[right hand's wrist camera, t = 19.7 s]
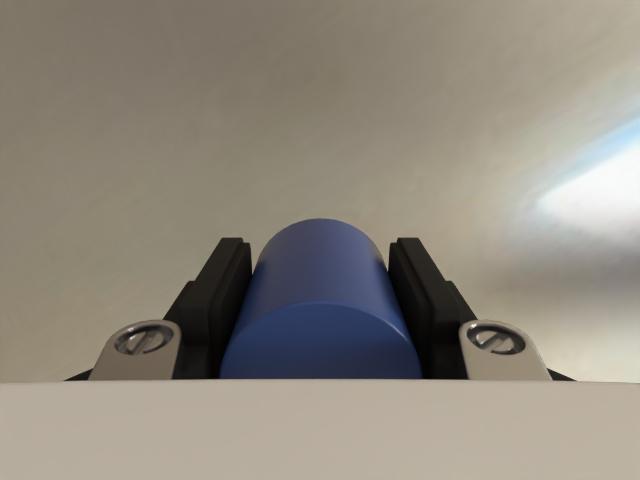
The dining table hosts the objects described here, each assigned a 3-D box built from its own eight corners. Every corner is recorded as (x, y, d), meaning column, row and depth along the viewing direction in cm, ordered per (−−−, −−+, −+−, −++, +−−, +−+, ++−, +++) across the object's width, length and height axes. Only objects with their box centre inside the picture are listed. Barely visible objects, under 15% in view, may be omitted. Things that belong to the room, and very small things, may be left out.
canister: (411, 254, 12) (465, 354, 7) (347, 354, 13) (361, 492, 9) (289, 194, 11) (270, 265, 7) (234, 305, 12) (187, 426, 8)
